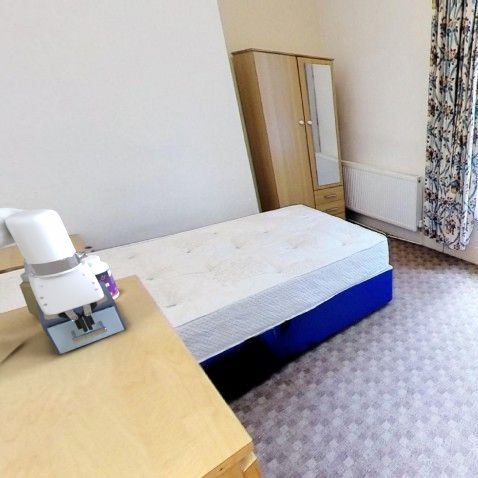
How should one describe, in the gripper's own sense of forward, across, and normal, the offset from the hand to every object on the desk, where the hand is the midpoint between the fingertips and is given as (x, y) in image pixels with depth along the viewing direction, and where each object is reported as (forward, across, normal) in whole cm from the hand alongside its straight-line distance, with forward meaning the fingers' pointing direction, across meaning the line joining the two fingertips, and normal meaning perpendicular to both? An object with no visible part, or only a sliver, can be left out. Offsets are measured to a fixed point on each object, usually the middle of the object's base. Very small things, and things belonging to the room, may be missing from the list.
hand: (88, 328), depth 79 cm
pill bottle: (+7, -5, -27) cm, 28 cm away
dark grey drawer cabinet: (+6, 0, -12) cm, 14 cm away
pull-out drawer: (+6, 0, -7) cm, 9 cm away
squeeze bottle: (+7, +5, -27) cm, 28 cm away
